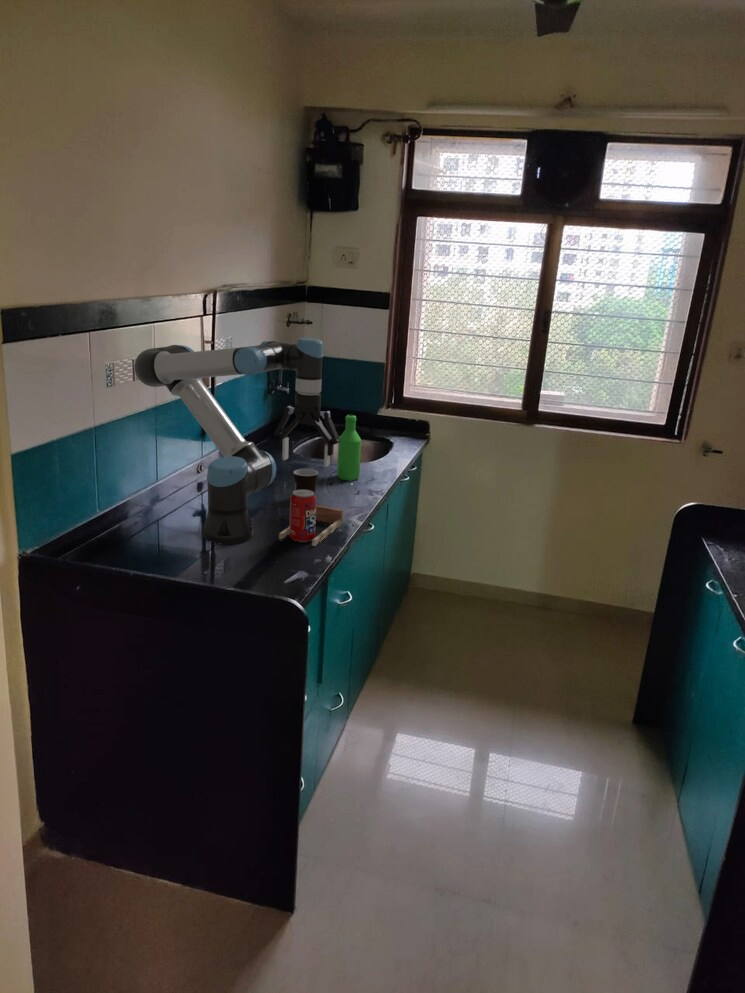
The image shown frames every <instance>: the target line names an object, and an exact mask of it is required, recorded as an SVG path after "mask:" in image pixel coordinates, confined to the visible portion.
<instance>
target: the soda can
mask: <svg viewBox="0 0 745 993" xmlns="http://www.w3.org/2000/svg"><path fill="white" fill-rule="evenodd" d="M316 505H317V497H316V494H315V495H314V492H313V491H311V490H293V491H292V494H291V495H290V498H289V526H290V535H289V537H290V539H291V540H292V541H294V542H296V541H298V542H297V543H309V542H312V540H313V539H314V538H315V537H316V530H317V528H316V527H317V526H316V524H317V521H316ZM308 541H309V542H308Z"/></svg>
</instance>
